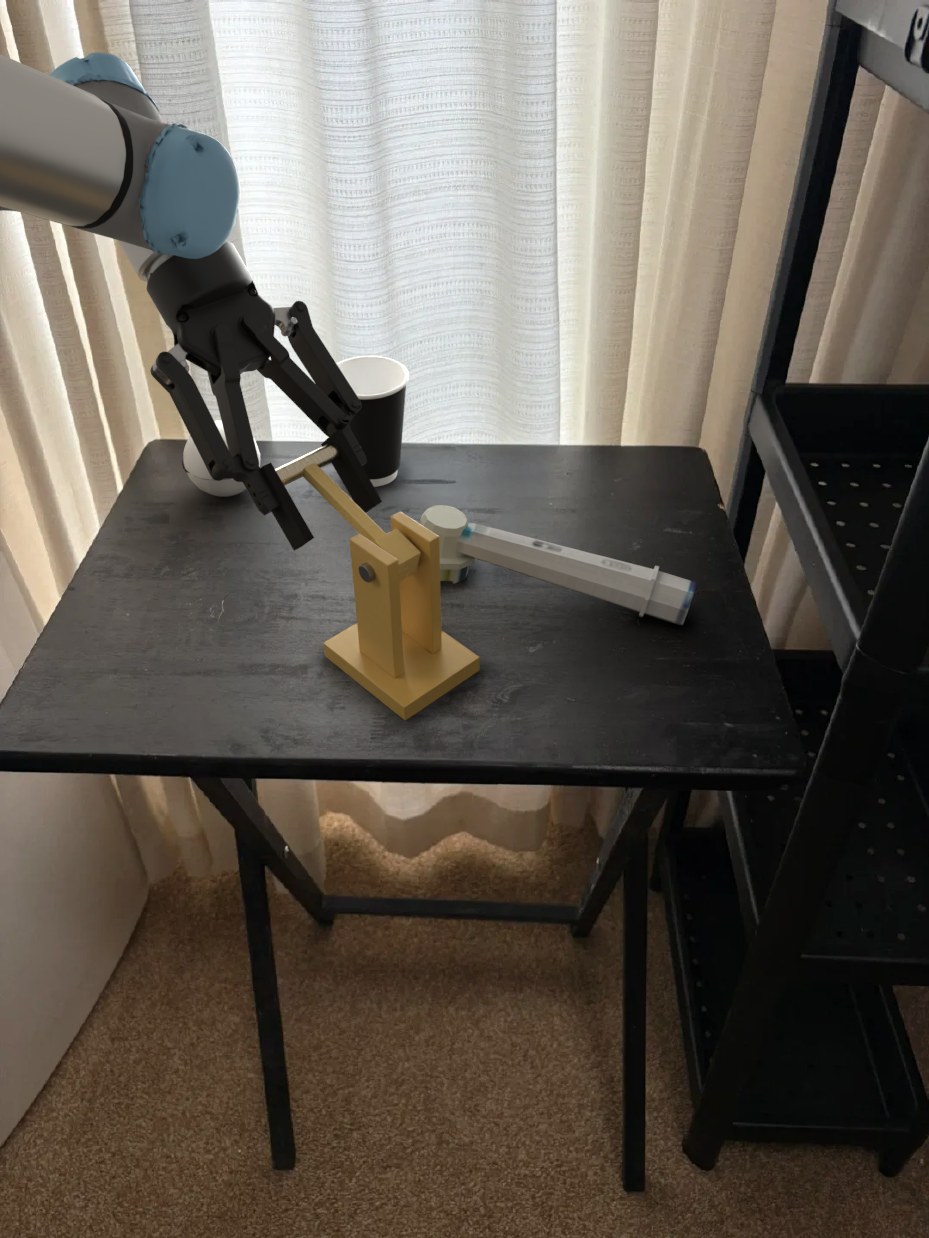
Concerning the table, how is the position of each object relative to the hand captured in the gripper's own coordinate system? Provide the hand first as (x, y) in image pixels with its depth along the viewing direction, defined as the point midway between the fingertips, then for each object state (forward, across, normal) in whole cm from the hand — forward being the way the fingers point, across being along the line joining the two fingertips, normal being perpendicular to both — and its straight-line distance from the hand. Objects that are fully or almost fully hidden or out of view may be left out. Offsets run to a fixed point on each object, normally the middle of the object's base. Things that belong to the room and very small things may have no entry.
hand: (338, 525), depth 82 cm
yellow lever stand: (+12, 0, +2) cm, 12 cm away
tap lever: (0, 0, -2) cm, 2 cm away
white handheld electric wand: (+13, +15, +1) cm, 20 cm away
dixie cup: (-4, +16, +19) cm, 25 cm away
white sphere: (-9, +3, +24) cm, 25 cm away
